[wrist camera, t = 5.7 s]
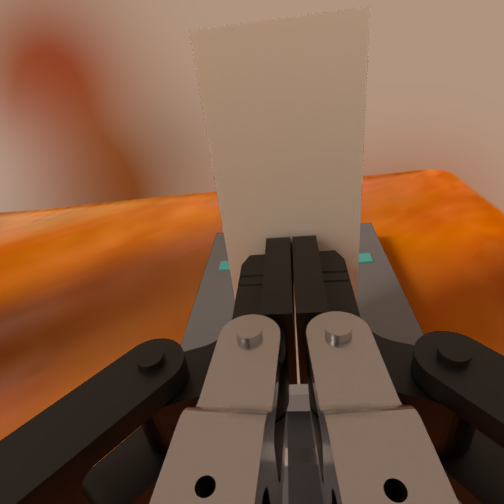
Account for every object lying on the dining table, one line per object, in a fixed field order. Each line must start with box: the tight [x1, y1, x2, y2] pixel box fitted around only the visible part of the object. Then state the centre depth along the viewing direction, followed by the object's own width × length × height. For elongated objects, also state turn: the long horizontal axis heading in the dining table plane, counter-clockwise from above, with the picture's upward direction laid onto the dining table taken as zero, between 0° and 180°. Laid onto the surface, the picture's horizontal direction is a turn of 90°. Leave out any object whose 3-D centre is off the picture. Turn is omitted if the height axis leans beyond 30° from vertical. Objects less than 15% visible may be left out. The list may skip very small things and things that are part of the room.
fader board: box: [181, 223, 462, 504], centre depth 19 cm, size 12×22×2 cm, turn 176°
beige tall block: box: [189, 6, 370, 411], centre depth 13 cm, size 5×4×13 cm
